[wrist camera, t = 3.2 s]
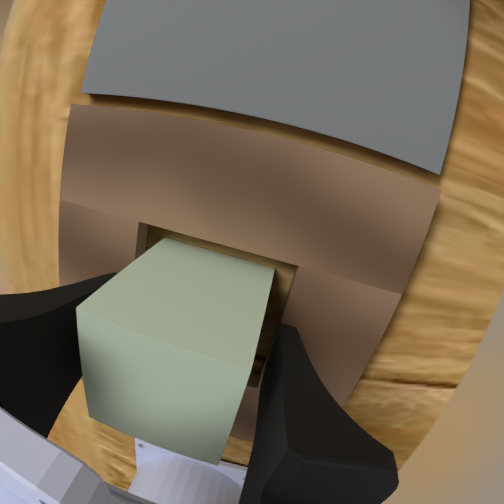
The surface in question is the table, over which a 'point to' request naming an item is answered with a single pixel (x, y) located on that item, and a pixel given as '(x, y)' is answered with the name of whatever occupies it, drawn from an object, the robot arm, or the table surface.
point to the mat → (296, 64)
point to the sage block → (173, 346)
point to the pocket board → (249, 223)
